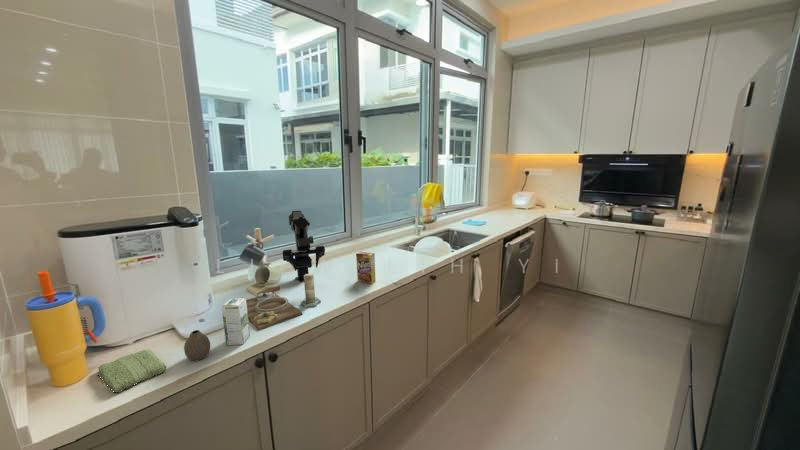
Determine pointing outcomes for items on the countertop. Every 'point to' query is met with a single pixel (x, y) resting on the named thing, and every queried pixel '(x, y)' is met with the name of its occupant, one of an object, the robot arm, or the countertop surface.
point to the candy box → (365, 267)
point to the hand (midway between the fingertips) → (306, 269)
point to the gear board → (271, 305)
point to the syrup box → (235, 321)
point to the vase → (197, 346)
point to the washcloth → (130, 370)
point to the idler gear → (310, 292)
